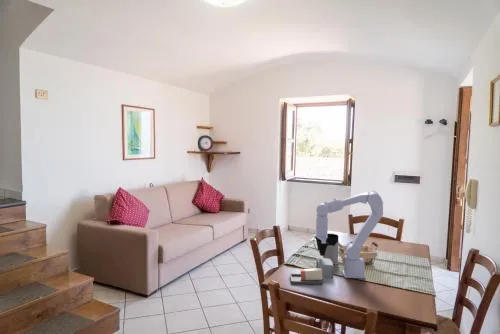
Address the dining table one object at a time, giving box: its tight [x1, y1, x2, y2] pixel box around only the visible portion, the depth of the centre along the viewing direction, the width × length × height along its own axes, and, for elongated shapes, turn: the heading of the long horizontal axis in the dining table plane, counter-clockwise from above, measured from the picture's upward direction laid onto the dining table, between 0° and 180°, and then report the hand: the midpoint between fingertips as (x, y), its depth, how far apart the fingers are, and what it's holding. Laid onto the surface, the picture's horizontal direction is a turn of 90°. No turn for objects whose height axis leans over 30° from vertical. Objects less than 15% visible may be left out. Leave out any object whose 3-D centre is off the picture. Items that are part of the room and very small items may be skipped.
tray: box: [289, 272, 323, 286], centre depth 154 cm, size 14×9×2 cm, turn 86°
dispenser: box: [315, 257, 334, 279], centre depth 162 cm, size 7×9×7 cm
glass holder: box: [312, 233, 339, 265], centre depth 179 cm, size 9×14×15 cm, turn 71°
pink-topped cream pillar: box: [300, 267, 323, 280], centre depth 154 cm, size 10×2×4 cm, turn 86°
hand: (321, 252), depth 165 cm, fingers open, 7 cm apart
